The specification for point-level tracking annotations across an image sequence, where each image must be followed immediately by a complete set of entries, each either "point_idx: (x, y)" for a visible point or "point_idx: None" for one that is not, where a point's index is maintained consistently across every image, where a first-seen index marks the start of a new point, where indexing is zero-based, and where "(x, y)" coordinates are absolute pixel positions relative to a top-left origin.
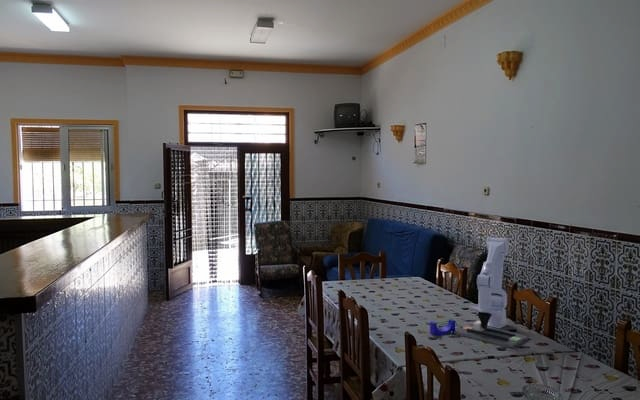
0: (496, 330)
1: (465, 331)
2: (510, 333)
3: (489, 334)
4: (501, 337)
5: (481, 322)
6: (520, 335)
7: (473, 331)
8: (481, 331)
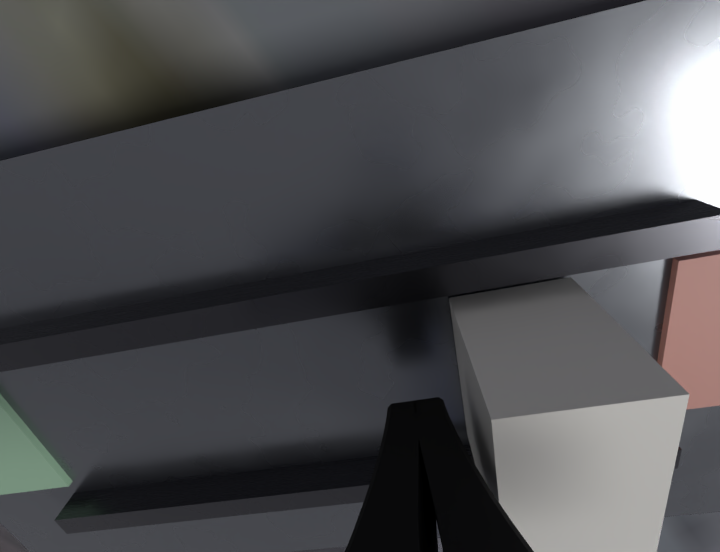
0: (293, 494)
1: (704, 137)
2: (109, 518)
3: (213, 301)
4: (16, 337)
5: (475, 500)
6: (91, 550)
7: (546, 235)
8: (457, 361)
